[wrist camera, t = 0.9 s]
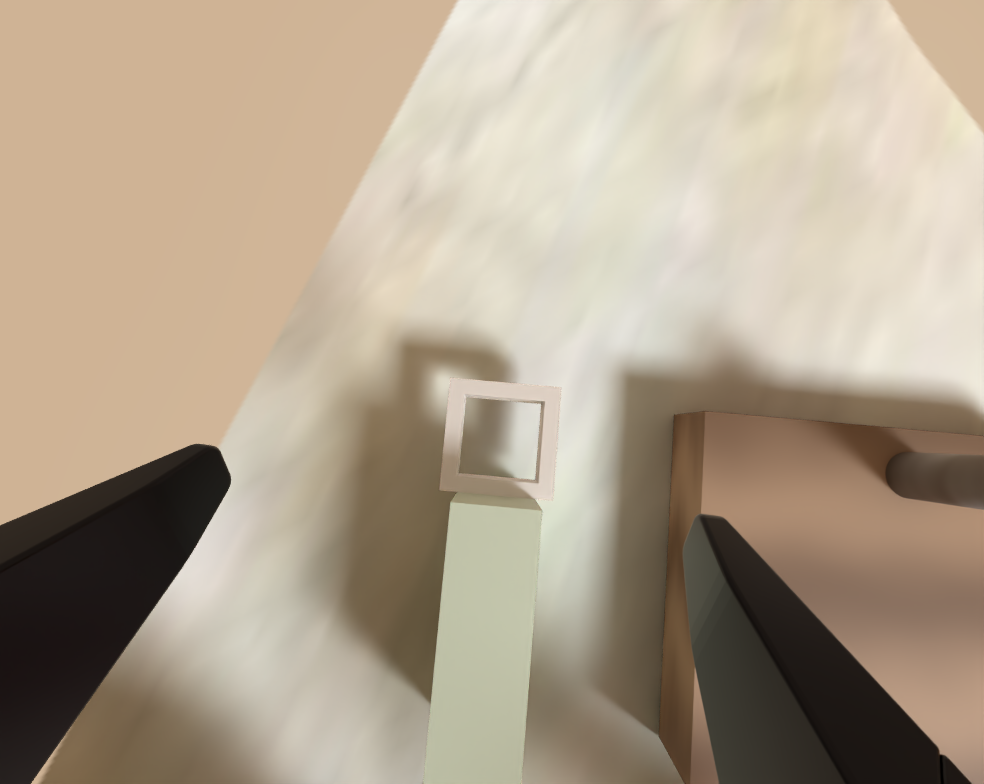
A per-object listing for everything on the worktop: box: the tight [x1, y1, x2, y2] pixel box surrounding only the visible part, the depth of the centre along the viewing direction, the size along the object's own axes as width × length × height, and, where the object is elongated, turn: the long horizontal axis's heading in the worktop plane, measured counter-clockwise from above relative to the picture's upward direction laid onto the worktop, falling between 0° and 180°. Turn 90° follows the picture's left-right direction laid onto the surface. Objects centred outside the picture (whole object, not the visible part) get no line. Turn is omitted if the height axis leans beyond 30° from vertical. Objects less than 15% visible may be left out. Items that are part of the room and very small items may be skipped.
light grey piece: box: [423, 378, 561, 784], centre depth 17 cm, size 14×4×6 cm, turn 175°
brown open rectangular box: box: [659, 411, 984, 784], centre depth 16 cm, size 14×16×8 cm
